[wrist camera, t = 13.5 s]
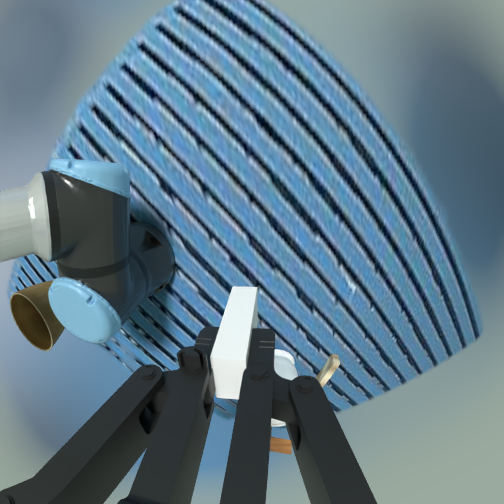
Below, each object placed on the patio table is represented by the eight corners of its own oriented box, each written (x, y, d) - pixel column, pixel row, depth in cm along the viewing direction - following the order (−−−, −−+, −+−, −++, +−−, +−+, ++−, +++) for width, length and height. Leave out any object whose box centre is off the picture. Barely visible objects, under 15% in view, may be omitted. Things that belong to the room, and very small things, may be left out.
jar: (303, 347, 57) (307, 399, 43) (294, 379, 61) (295, 428, 47) (254, 341, 58) (247, 393, 44) (249, 374, 61) (242, 423, 47)
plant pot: (78, 263, 56) (34, 294, 41) (96, 318, 61) (62, 356, 46) (41, 265, 57) (1, 291, 42) (59, 314, 62) (25, 345, 47)
